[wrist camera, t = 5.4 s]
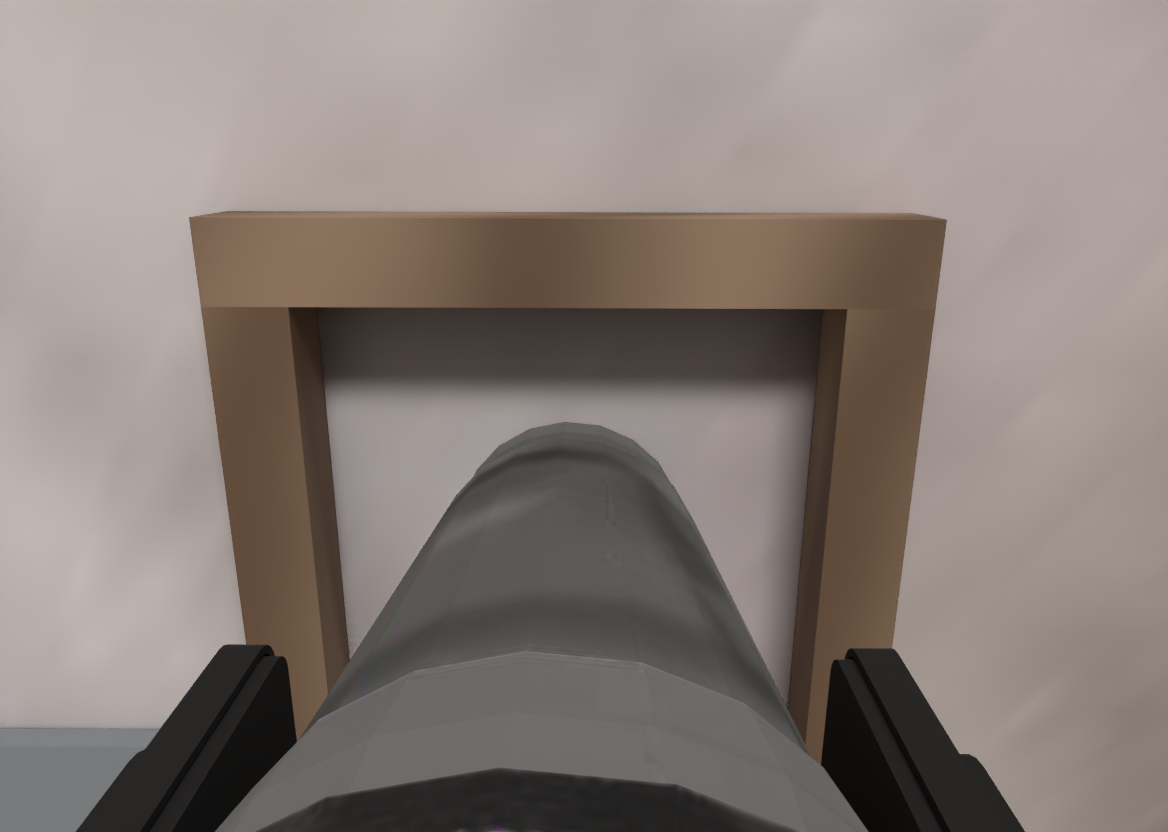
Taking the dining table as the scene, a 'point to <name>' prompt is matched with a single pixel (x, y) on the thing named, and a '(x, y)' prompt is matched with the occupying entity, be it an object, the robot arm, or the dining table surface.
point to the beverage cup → (554, 674)
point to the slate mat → (60, 773)
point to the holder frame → (567, 280)
